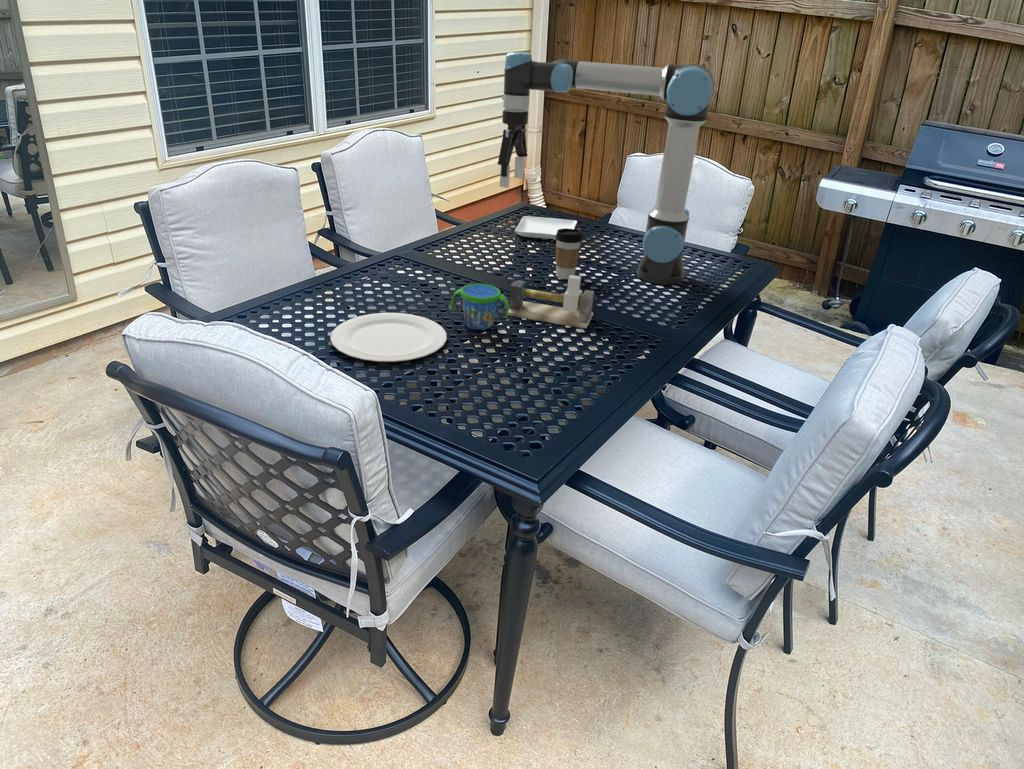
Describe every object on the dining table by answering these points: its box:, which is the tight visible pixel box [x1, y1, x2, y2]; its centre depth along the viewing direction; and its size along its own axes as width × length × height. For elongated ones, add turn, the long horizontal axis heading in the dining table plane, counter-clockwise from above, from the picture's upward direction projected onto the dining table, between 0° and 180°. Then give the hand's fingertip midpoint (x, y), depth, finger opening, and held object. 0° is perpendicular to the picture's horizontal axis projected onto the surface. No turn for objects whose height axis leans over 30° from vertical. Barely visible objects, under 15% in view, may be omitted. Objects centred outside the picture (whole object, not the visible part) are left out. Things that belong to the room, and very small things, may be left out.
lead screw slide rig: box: [507, 280, 595, 329], centre depth 207 cm, size 23×10×8 cm, turn 74°
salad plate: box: [514, 215, 578, 241], centre depth 277 cm, size 21×21×3 cm
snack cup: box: [450, 283, 509, 331], centre depth 197 cm, size 16×10×10 cm
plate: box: [330, 312, 448, 363], centre depth 188 cm, size 29×29×2 cm
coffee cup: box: [555, 228, 583, 280], centre depth 234 cm, size 8×8×15 cm
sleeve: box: [562, 274, 583, 313], centre depth 203 cm, size 4×5×9 cm
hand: (511, 182), depth 227 cm, fingers open, 13 cm apart
